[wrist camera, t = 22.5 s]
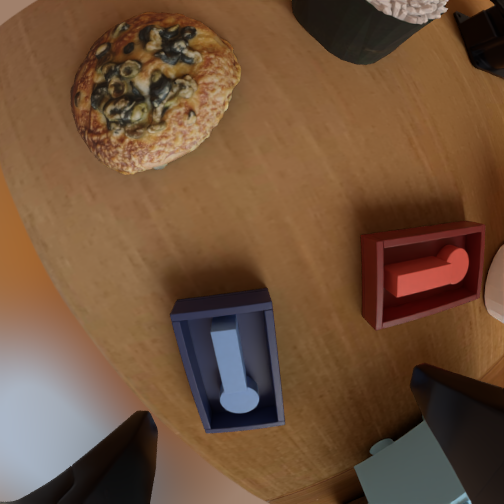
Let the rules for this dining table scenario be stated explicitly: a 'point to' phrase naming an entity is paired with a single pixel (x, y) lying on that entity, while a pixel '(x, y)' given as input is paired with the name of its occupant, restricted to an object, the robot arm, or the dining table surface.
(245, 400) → the blue spoon
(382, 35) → the sushi
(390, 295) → the red tray
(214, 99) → the bread roll
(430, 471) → the teapot
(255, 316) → the blue tray
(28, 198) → the dining table surface
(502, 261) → the mug
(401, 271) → the red spoon
